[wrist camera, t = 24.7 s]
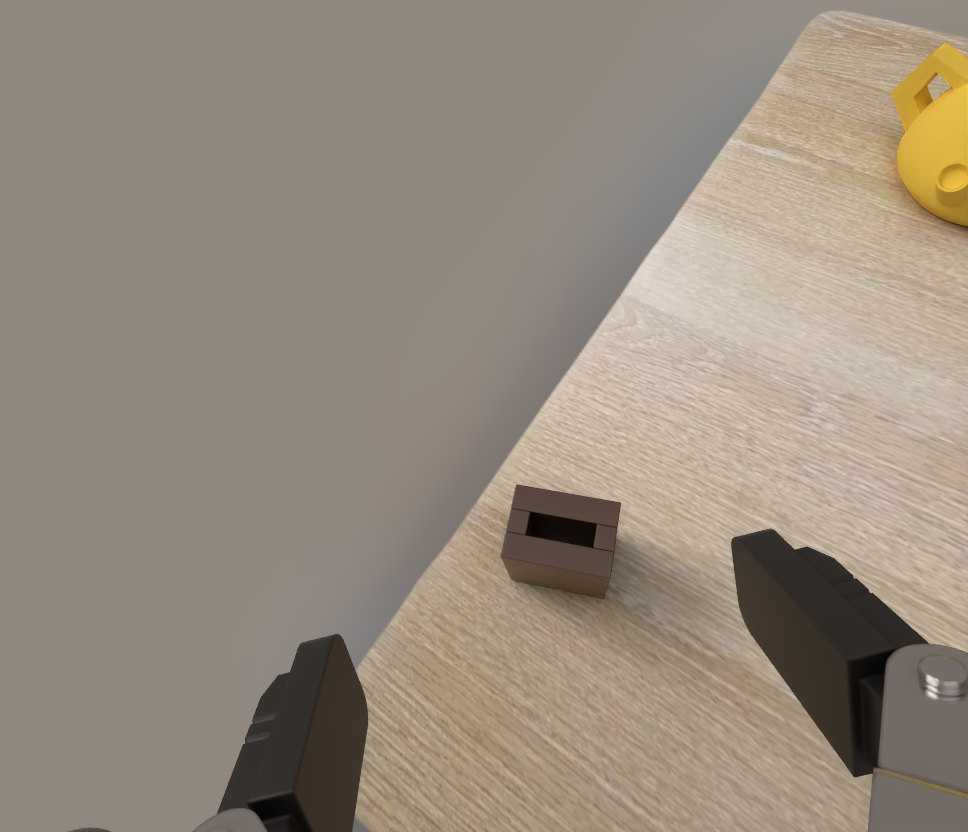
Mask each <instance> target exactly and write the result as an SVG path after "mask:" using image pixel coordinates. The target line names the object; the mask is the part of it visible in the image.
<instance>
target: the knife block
mask: <svg viewBox="0 0 968 832" xmlns="http://www.w3.org/2000/svg"><path fill="white" fill-rule="evenodd" d="M620 506H621V503H620V502H614V501H608V500H603V499H597V498H591V497H585V496H580V495H574V494H568V493H562V492H557V491H551V490H545V489H539V488H533V487H528V486H522V485H516V488H515V492H514V497H513V502H512V506H511V508H512V509H511V511H510V516H509V521H508V525H507V530H506V535H505V539H504V544H503V549H502V554H501V558H502V560H503V562H504V564H505V567H506V569H507V571H508V573H509V575H510V577H511V580H514V581H519V582H524V583H529V584H534V585H539V586H544V587H548V588H553V589H558V590H563V591H568V592H573V593H578V594H582V595H587V596H592V597H597V598H602V599H604V597H605V594H606V591H607V588H608V584H609V581H610V578H611V571H612V564H613V556H614V549H615V542H616V535H617V527H618V520H619V513H620Z"/></svg>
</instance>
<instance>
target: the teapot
mask: <svg viewBox="0 0 968 832" xmlns="http://www.w3.org/2000/svg"><path fill="white" fill-rule="evenodd" d="M937 74H939V75H940V76H941V77H942V78H943V79H944V80H945V81H946V82H947V83H948V84H949V85H950V86H951V88H950V89H948V90H947V91H945V92H944V93H943V94H941V95H940V96H939V97H938V98H937V99H935V100H934V101H932V98H931V95H930V93H929V90H928V88H927V85H928V84H929V83H930V82H931V81H932V80H933V79H934V78H935V77H936V76H937ZM891 93H892V96H893V99H894V102H895V105H896V107H897V110H898V113H899V116H900V118H901V121H902V124H903V127H904V130H905V134H904V136H903V137H902V139H901V141H900V144H899V146H898V153H897V166H898V170H899V173H900V176H901V178H902V181H903V183H904V185H905V187H906V188H907V190H908V191H909V193H910V194H911V196H912V197H913V198H914V199H915V200H916V201H917V202H918V203H919V204H920V205H921V206H922V207H923V208H925V209H926V210H928V211H929V212H931V213H932V214H934V215H936V216H938V217H940V218H942V219H944V220H947V221H950V222H952V223H955V224H959V225H963V226H968V58H967V57H966V56H965V55H963V54H962V53H961V52H959V51H958V50H956V49H955V48H954V47H952V46H951V45H950V44H948V43H947V42H946V43H944V44H943V45H942V46H941V47H939V48H938V49H937V50H936V51H934V52H933V53H932V54H931V55H930V56H929V57H928V58H927V59H925V60H924V61H923V62H922V63H921V64H920V65H919V66H918V67H917V68H916V69H915V70H914V71H913V72H912V73H911V74H910V75H909V76H908V77H907V78H906V79H905V80H904V81H903V82H902V83H901V84H899V85H898V86H897V87H896V88H895V89H894V90H893V91H892V92H891Z"/></svg>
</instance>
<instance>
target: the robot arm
mask: <svg viewBox="0 0 968 832" xmlns="http://www.w3.org/2000/svg"><path fill="white" fill-rule="evenodd" d="M731 548H732V556H733V564H734V572H735V580H736V588H737V595H738V602H739V607H740V611H741V614H742V617H743V619H744V622H745V624H746V626H747V628H748V630H749V632H750V633H751V635H752V636H753V638H754V639H755V641H756V642H757V643H758V645H759V646H760V647H761V649H762V650H763V652H764V653H765V654H766V656H767V657H768V659H769V660H770V661H771V663H772V664H773V665H774V667H775V668H776V670H777V671H778V672H779V674H780V675H781V677H782V678H783V679H784V681H785V682H786V683H787V685H788V686H789V688H790V689H791V690H792V692H793V693H794V695H795V696H796V697H797V699H798V700H799V701H800V703H801V704H802V706H803V707H804V708H805V710H806V711H807V713H808V714H809V715H810V717H811V718H812V719H813V721H814V722H815V724H816V725H817V726H818V728H819V729H820V731H821V732H822V733H823V735H824V736H825V737H826V739H827V740H828V742H829V743H830V744H831V746H832V747H833V749H834V750H835V751H836V753H837V754H838V755H839V757H840V758H841V760H842V761H843V762H844V764H845V765H846V767H847V768H848V769H849V771H850V772H851V774H852V775H853V776H854V778H855V777H859V776H863V775H867V774H871V773H873V777H872V788H871V800H870V811H869V823H868V832H968V653H966V652H964V651H962V650H958V649H955V648H952V647H948V646H943V645H936V644H929V643H928V642H927V641H926V640H925V639H923V638H922V637H921V636H920V635H919V634H918V633H917V632H916V631H915V630H913V629H912V628H911V627H910V626H909V625H908V624H907V623H906V622H904V621H903V620H902V619H901V618H900V617H899V616H898V615H897V614H896V613H894V612H893V611H892V610H891V609H890V608H889V607H888V606H887V605H885V604H884V603H883V602H882V601H881V600H880V599H879V598H878V597H877V596H875V595H874V594H873V593H870V592H869V590H868V588H867V587H865V586H864V585H863V584H862V583H861V582H860V581H859V580H858V579H854V578H853V575H852V574H851V573H850V572H849V571H848V570H846V569H845V568H844V567H843V566H842V565H841V564H840V563H839V562H837V561H836V560H835V559H834V558H832V557H830V556H827V555H825V554H823V553H821V552H818V551H816V550H814V549H812V548H809V547H804V548H800V549H796V550H795V549H793V548H792V547H791V546H790V545H789V544H788V543H787V542H786V541H785V540H784V539H783V538H782V537H781V536H780V535H779V534H778V533H777V532H776V531H775V530H773V529H766V530H762V531H758V532H754V533H750V534H746V535H742V536H738V537H734V538H733V539H732V542H731ZM252 721H253V724H252V725H250V727H249V730H248V733H247V735H246V738H245V742H246V743H245V744H243V746H242V749H241V751H240V754H239V757H238V759H237V762H236V765H235V767H234V770H233V773H232V775H231V778H230V781H229V783H228V786H227V789H226V791H225V794H224V796H223V799H222V802H221V805H220V807H219V810H218V813H217V815H215V816H213V817H211V818H210V819H208V820H207V821H205V822H204V823H202V824H201V825H200V826H199V827H197V828H196V829H195V830H194V831H193V832H352V829H353V822H354V816H355V809H356V802H357V795H358V789H359V782H360V775H361V768H362V762H363V755H364V748H365V741H366V735H367V728H368V710H367V703H366V698H365V695H364V691H363V689H362V686H361V684H360V681H359V678H358V676H357V673H356V671H355V668H354V666H353V663H352V661H351V658H350V656H349V653H348V650H347V648H346V645H345V643H344V640H343V639H342V637H341V636H340V635H339V634H335V635H331V636H327V637H323V638H319V639H315V640H311V641H307V642H302V643H301V644H300V645H299V647H298V650H297V653H296V656H295V659H294V662H293V665H292V668H291V671H290V672H289V673H285V674H282V675H278V676H277V677H276V679H275V680H274V681H273V683H272V684H271V685H270V686H269V688H268V689H267V690H266V691H265V693H264V694H263V696H261V698H260V701H259V703H258V706H257V709H256V711H255V714H254V717H253V720H252Z"/></svg>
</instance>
